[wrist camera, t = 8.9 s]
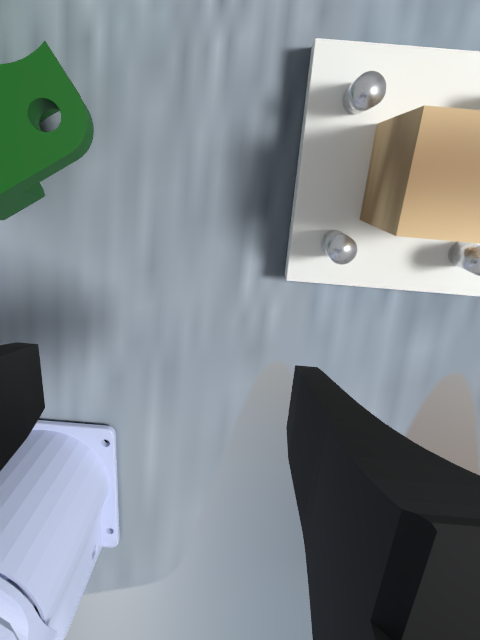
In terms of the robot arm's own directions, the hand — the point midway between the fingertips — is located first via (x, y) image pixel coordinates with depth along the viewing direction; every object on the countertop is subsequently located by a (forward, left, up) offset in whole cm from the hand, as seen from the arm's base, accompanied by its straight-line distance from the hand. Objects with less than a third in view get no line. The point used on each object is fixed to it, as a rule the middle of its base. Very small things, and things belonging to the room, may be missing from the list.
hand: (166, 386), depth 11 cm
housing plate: (+6, -9, -10) cm, 15 cm away
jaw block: (+6, -9, -9) cm, 14 cm away
